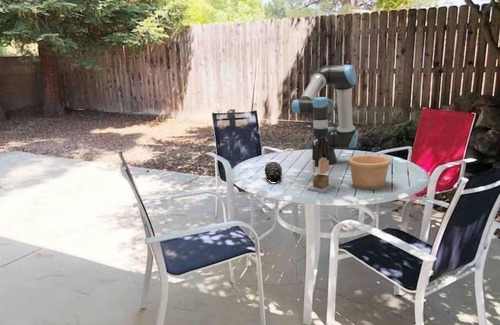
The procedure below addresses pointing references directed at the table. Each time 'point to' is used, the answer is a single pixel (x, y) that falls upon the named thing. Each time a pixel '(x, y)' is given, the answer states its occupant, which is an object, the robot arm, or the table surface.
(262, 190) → the table surface
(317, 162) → the robot arm
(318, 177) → the walnut cube
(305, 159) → the table surface
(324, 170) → the terracotta cube
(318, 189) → the pad
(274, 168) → the pine cone
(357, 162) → the pottery
